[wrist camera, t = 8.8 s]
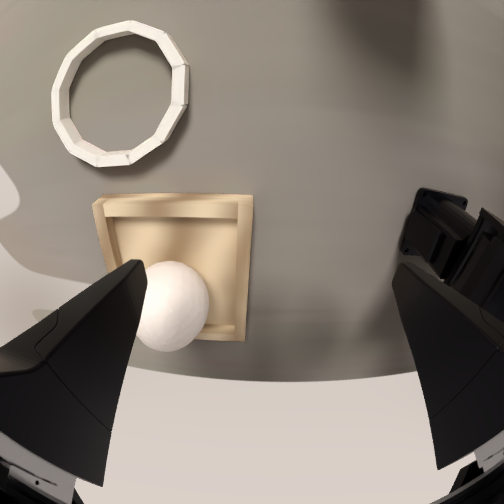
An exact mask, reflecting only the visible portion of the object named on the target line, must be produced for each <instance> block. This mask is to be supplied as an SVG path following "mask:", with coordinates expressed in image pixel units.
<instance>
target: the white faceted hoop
mask: <svg viewBox="0 0 504 504" xmlns="http://www.w3.org/2000/svg"><path fill="white" fill-rule="evenodd" d="M132 34H137V35H140V36H142V37H145V38H148V39H150V40H153V41H155V42H157V44H158V45H159V47H160V48H161V50H162V52H163V53H164V55H165V57H166V58H167V60H168V61H169V63H170V65H171V66H172V68H173V69H172V103H171V105H170V107H169V109H168V110H167V112H166V114H165V116H164V118H163V119H162V121H161V123H160V125H159V127H158V129H157V131H156V132H155V134H154V135H153V136H152V137H150V138H149V139H148V140H146V141H145V142H143V143H142V144H140V145H139V146H137V147H136V148H135V149H133V150H124V151H113V152H105V151H103V150H101V149H99V148H98V147H96V146H94V145H92V144H90V143H88V142H86V141H84V140H83V139H82V137H81V135H80V134H79V132H78V130H77V129H76V127H75V125H74V123H73V122H72V120H71V118H70V107H69V88H70V85H71V83H72V81H73V78H74V76H75V74H76V72H77V70H78V67H79V65H80V63H81V61H82V60H83V59H84V58H85V57H86V56H88V55H89V54H90V53H91V52H92V51H93V50H95V49H96V48H97V47H98V46H99V45H101V44H102V43H103V42H104V41H105V40H109V39H113V38H118V37H122V36H127V35H132ZM188 66H189V64H188V63H187V61H186V59H185V58H184V56H183V55H182V53H181V51H180V50H179V48H178V47H177V45H176V43H175V42H174V40H173V39H172V37H171V36H170V35H168V34H167V33H166V32H164V31H161V30H159V29H156V28H153V27H151V26H148V25H145V24H142V23H139V22H136V21H133V20H132V21H131V20H129V21H124V22H120V23H116V24H112V25H108V26H105V27H101V28H98V29H96V30H93V31H92V32H91V33H90V34H89V35H88V36H86V37H85V38H84V39H83V40H82V41H81V42H80V43H79V44H77V45H76V46H75V47H74V48H73V49H72V50H71V51H70V52H69V53H68V54H67V56H66V57H65V59H64V61H63V63H62V65H61V68H60V70H59V72H58V75H57V77H56V79H55V82H54V84H53V87H52V89H53V90H51V94H52V120H53V123H55V124H54V125H53V126H54V128H55V129H56V131H57V133H58V135H59V136H60V138H61V140H62V142H63V143H64V145H65V147H66V148H67V150H68V152H69V151H70V153H71V154H73V155H75V156H76V157H78V158H80V159H82V160H84V161H86V162H88V163H89V164H91V165H93V166H95V167H108V166H121V165H130V164H132V163H134V162H135V161H137V160H138V159H140V158H141V157H143V156H144V155H145V154H147V153H148V152H150V151H151V150H153V149H154V148H156V147H157V146H159V145H161V144H162V143H164V142H165V141H167V139H169V137H170V136H171V134H172V132H173V130H174V128H175V127H176V125H177V123H178V121H179V120H180V118H181V116H182V114H183V113H184V111H185V109H186V108H187V105H185V104H188V93H189V67H188Z"/></svg>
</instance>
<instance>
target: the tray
mask: <svg viewBox="0 0 504 504" xmlns="http://www.w3.org/2000/svg"><path fill="white" fill-rule="evenodd" d="M92 208H93V213H94V218H95V222H96V227H97V232H98V236H99V240H100V244H101V248H102V252H103V256H104V260H105V263H106V267H107V271H108V274H109V273H110V272H112V271H113V270H115V269H116V268H118V267H119V266H121V265H123V264H124V263H126V262H127V261H129V260H130V259H141V260H142V261H143V263H144V267H145V269H147V268H148V267H150V266H151V265H154V264H156V263H159V262H164V261H176V262H181V263H184V264H185V265H187V266H189V267H191V268H192V269H194V270H195V271H196V272H197V273H198V274H199V275H200V276H201V278H202V279H203V281H204V283H205V285H206V287H207V290H208V295H209V310H208V316H207V319H206V322H205V324H204V326H203V328H202V330H201V331H200V333H199V334H198V335H197V336H196V337H195V338H194V339H201V340H219V341H245V327H246V311H247V296H248V280H249V264H250V248H251V233H252V217H253V195H237V194H199V193H144V194H108V195H102V196H101V197H100V198H99V199H98V200H97V201H96V202H94V203H93V204H92Z"/></svg>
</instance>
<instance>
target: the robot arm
mask: <svg viewBox="0 0 504 504" xmlns="http://www.w3.org/2000/svg"><path fill="white" fill-rule="evenodd" d="M423 193H424V195H423V196H422V194H423ZM463 201H464V202H463ZM467 203H468V200H467V199H466V198H465V197H462V196H458V195H454V194H450V193H446V192H442V191H437V190H432V189H428V188H420V189H419V191H418V193H417V197H416V201H415V204H414V208H413V211H412V214H411V218H410V221H409V224H408V227H407V230H406V233H405V236H404V239H403V242H402V245H401V248H400V251H401V252H402V254H403V255H418V256H421V257H422V258H423V259H424V261H425V262H426V263H428V264H429V265H430V266H431V268H432V269H433V270H434V271H435V273H436V274H437V275H438V276H439V278H440V279H443V280H444V282H441V281H440V280H438V279H436V278H435V277H433V276H432V275H430V274H428V273H427V272H425V271H423V270H422V269H420V268H418V267H417V266H415V265H413V264H412V263H410V262H401V263H399V265H398V267H397V270H396V272H395V275H394V278H393V281H392V287H393V291H394V294H395V298H396V302H397V306H398V310H399V314H400V317H401V321H402V324H403V327H404V330H405V333H406V336H407V339H408V342H409V345H410V348H411V352H412V355H413V358H414V362H415V365H416V368H417V372H418V376H419V379H420V383H421V387H422V390H423V395H424V399H425V403H426V407H427V412H428V417H429V422H430V427H431V433H432V438H433V444H434V450H435V457H436V465H437V469H438V470H440V469H442V468H444V467H446V466H448V465H450V464H452V463H454V462H456V461H458V460H460V459H462V458H463V457H465V456H467V455H469V454H470V453H472V452H475V456H476V460H475V461H473V462H472V463H470V464H469V465H467V466H465V467H463V468H462V469H460V471H459V473H458V476H457V478H456V480H455V482H454V485H453V486H452V489H451V491H450V493H449V494H448V495H447V496H444V497H442V498H440V499H439V500H437V501H435V502H432V503H430V504H504V221H502V220H501V219H499V218H498V217H496V216H495V215H493V214H492V213H490V212H489V211H487V210H485V209H484V208H481V210H480V213H479V214H480V215H479V218H478V220H476V219H475V218H473V217H472V216H471V215H470V214H468V213H467V212H466V211H465V210H466V207H467ZM406 248H407V249H406ZM405 249H406V250H405ZM147 285H148V280H147V275H146V271H145V267H144V263H143V261H142V260H141V259H130V260H129V261H127V262H126V263H124V264H123V265H121V266H119V267H118V268H116V269H115V270H113V271H112V272H110V273H109V274H107V275H106V276H104V277H103V278H101V279H100V280H98V281H97V282H95V283H94V284H92V285H91V286H89V287H88V288H87V289H85V290H84V291H82V292H81V293H79V294H78V295H76V296H75V297H74V298H72V299H71V300H69V301H68V302H66V303H65V304H64V305H62V306H61V307H59V310H58V309H56V310H55V311H54V312H52V313H51V314H50V315H48V316H47V317H45V318H44V319H43V320H41V321H40V322H38V323H37V324H35V325H34V326H32V327H31V328H29V329H28V330H26V331H25V332H23V333H22V334H20V335H19V336H17V337H16V338H14V339H13V340H11V341H10V342H8V343H7V344H5V345H4V346H2V347H0V504H84V503H83V501H82V500H81V498H80V497H79V495H78V493H77V492H76V490H75V488H74V486H75V481H76V477H77V478H79V479H82V480H84V481H87V482H90V483H92V484H95V485H98V486H101V487H103V482H104V475H105V468H106V461H107V455H108V449H109V444H110V438H111V431H112V427H113V423H114V418H115V413H116V409H117V404H118V399H119V396H120V392H121V387H122V384H123V380H124V375H125V372H126V368H127V365H128V361H129V357H130V354H131V350H132V347H133V343H134V340H135V337H136V333H137V330H138V327H139V323H140V319H141V314H142V309H143V304H144V299H145V294H146V290H147Z"/></svg>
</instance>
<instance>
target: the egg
mask: <svg viewBox="0 0 504 504" xmlns="http://www.w3.org/2000/svg"><path fill="white" fill-rule="evenodd" d="M145 271H146V275H147V280H148V285H147V290H146V294H145V299H144V304H143V309H142V314H141V319H140V323H139V327H138V330H137V333H136V335H137V336H138V337H139V338H140V340H141V341H142V342H143V343H144V344H145V345H147V346H149V347H150V348H152V349H154V350H158V351H161V352H172V351H175V350H178V349H181V348H183V347H185V346H186V345H188V344H189V343H190V342H191V341H192V340H193V339H194V338H195V337H196V336H197V335H198V334H199V333H200V331H201V330H202V328H203V326H204V324H205V322H206V319H207V316H208V310H209V295H208V290H207V287H206V285H205V283H204V281H203V279H202V278H201V276H200V275H199V274H198V273H197V272H196V271H195V270H194V269H192V268H191V267H189V266H187V265H185V264H184V263H181V262H176V261H164V262H159V263H156V264H154V265H151V266H150V267H148V268H147V269H145Z"/></svg>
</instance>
